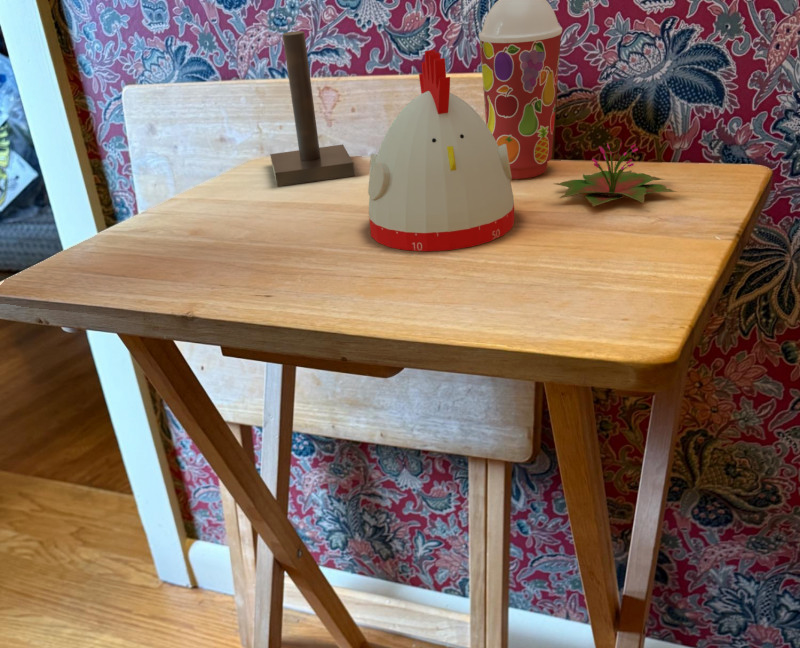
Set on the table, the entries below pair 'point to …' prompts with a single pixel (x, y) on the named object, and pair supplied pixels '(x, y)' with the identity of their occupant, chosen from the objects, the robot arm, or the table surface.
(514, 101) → the smoothie
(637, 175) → the lily flower
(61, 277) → the table surface
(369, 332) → the table surface
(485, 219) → the kitchen timer
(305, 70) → the peg stand
